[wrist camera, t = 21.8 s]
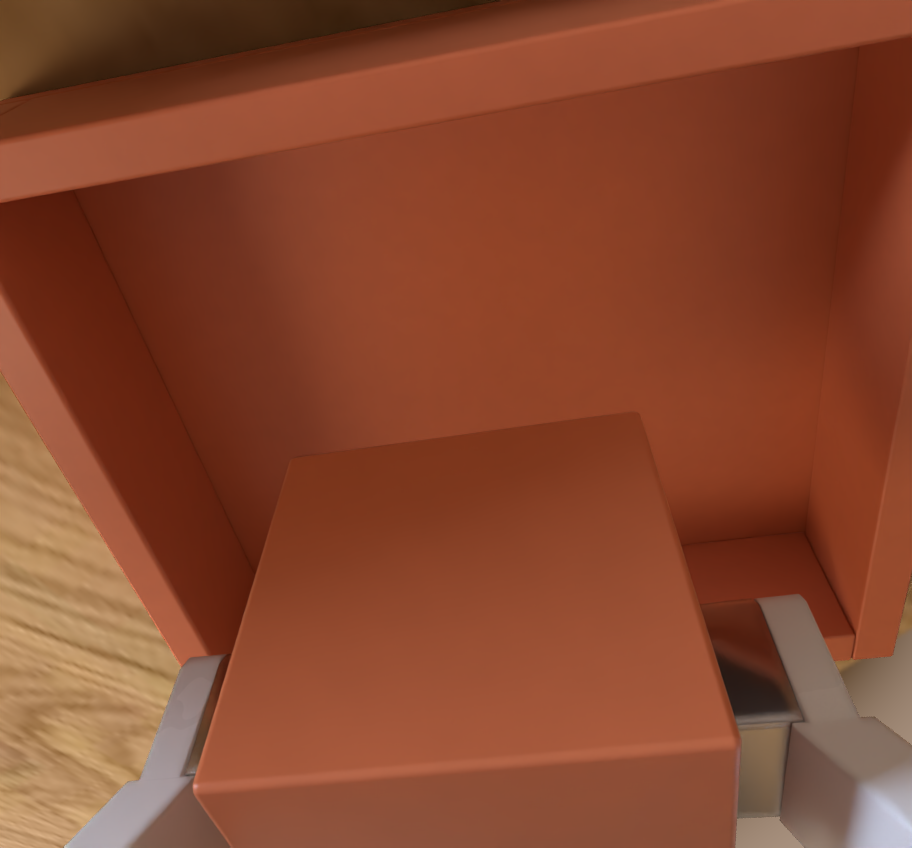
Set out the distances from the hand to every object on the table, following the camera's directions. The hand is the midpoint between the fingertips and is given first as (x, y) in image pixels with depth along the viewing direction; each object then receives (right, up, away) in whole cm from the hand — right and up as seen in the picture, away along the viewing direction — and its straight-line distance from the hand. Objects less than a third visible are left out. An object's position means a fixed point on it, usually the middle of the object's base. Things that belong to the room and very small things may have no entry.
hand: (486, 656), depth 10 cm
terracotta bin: (0, +4, +6) cm, 8 cm away
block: (0, +1, +1) cm, 2 cm away
